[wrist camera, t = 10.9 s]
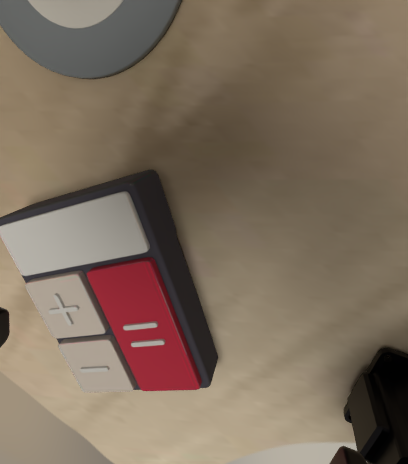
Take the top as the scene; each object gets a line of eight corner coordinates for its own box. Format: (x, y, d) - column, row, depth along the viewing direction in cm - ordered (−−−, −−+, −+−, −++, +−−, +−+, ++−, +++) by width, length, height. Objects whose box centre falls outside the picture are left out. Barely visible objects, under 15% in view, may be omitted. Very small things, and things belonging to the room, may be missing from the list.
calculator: (78, 400, 25) (-20, 224, 20) (107, 359, 28) (30, 204, 24) (209, 398, 21) (125, 183, 16) (222, 351, 25) (157, 166, 20)
